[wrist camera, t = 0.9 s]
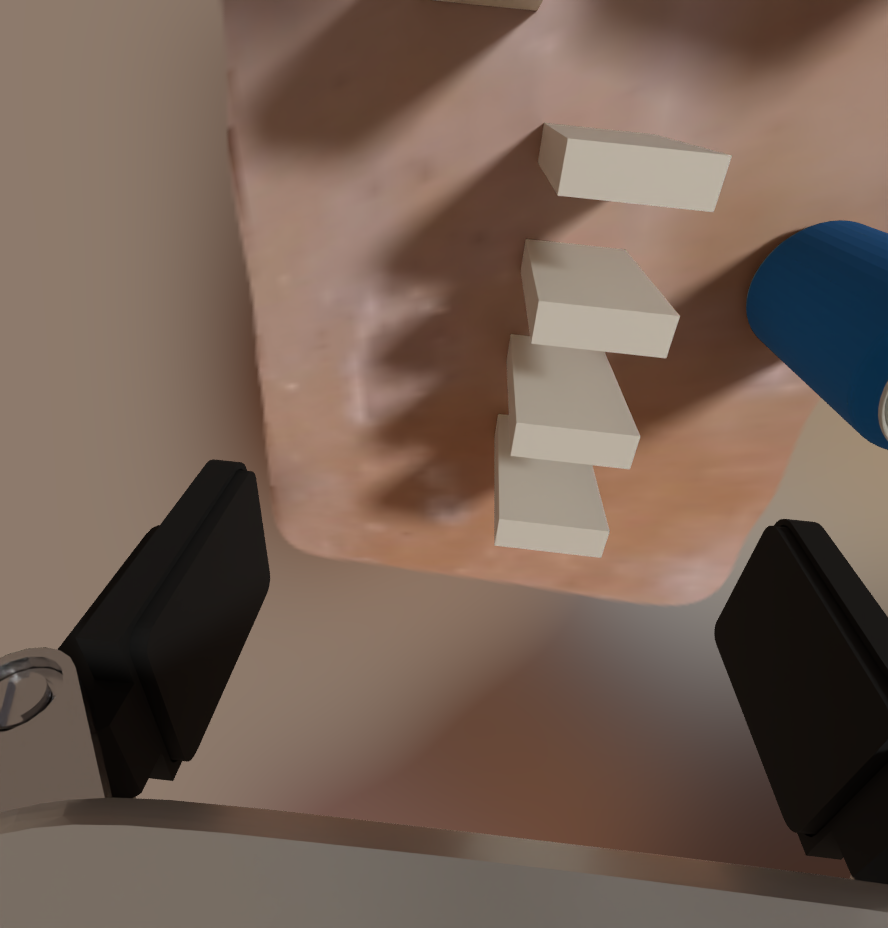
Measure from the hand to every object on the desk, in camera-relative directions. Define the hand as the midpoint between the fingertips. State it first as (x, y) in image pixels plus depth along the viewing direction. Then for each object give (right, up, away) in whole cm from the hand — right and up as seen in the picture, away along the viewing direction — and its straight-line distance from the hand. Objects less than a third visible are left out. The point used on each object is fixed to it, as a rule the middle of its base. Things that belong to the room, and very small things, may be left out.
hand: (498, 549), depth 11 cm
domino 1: (+6, +16, +15) cm, 23 cm away
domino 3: (+5, +8, +21) cm, 23 cm away
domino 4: (+5, +4, +24) cm, 24 cm away
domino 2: (+5, +12, +18) cm, 22 cm away
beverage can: (+17, +11, +18) cm, 27 cm away
